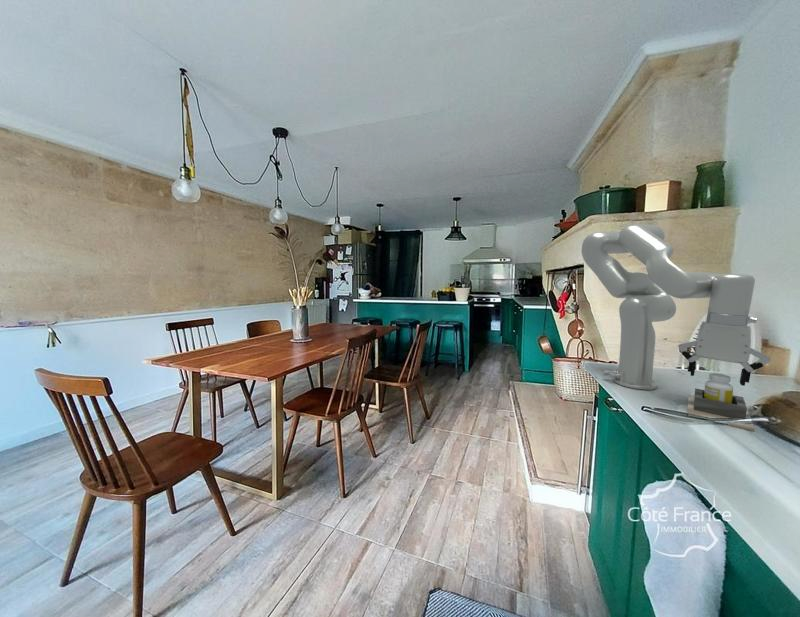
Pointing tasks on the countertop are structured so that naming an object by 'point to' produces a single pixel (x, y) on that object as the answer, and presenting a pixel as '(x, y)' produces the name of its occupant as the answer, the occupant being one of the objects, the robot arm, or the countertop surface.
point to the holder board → (718, 409)
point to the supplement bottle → (718, 388)
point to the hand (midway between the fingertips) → (716, 379)
